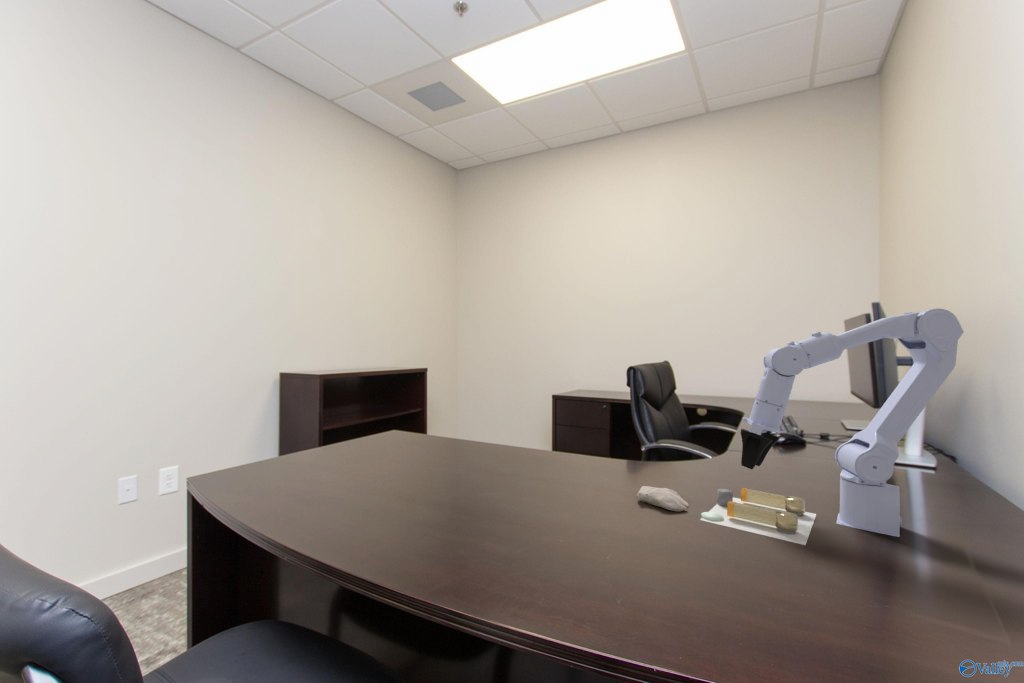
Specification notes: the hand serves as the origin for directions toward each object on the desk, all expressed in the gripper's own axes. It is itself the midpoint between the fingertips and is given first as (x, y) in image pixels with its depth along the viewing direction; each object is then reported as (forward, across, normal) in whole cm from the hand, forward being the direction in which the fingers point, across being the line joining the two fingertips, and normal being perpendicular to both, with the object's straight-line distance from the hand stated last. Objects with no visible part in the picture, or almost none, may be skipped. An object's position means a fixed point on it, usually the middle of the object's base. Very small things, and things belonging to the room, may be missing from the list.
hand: (750, 465), depth 95 cm
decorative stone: (+15, +5, -13) cm, 20 cm away
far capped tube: (+7, -6, +5) cm, 11 cm away
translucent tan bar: (+8, +6, +5) cm, 12 cm away
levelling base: (+9, +1, +4) cm, 10 cm away
